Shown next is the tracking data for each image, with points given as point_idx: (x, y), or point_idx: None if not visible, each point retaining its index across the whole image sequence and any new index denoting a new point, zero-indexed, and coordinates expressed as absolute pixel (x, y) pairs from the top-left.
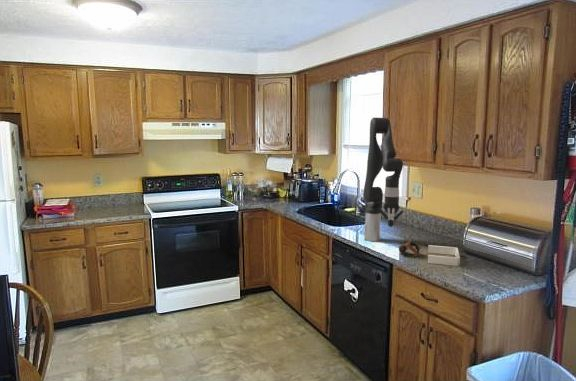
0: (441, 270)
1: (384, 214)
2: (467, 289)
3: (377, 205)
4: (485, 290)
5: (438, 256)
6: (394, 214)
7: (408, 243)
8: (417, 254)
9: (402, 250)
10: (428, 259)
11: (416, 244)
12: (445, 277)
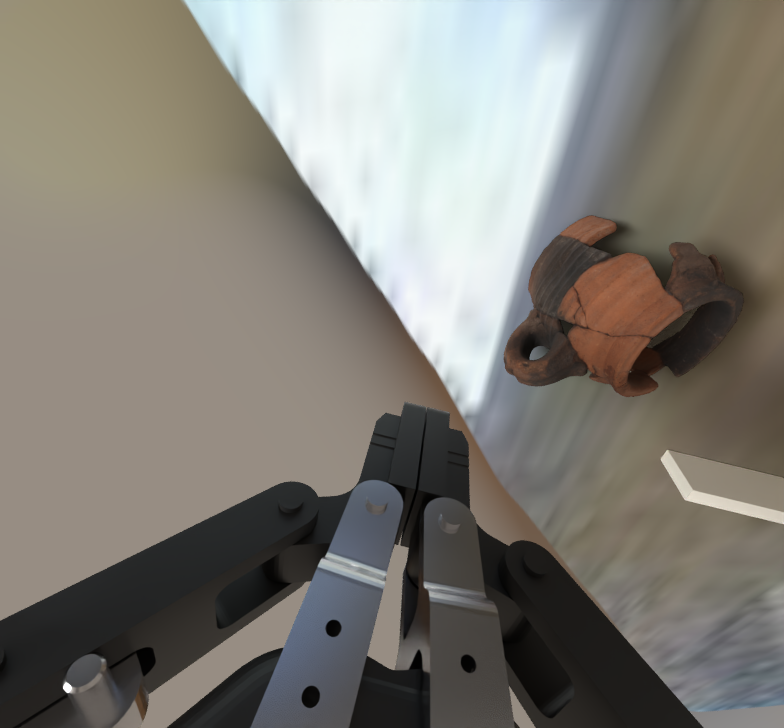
0: (673, 551)
1: (213, 637)
2: None
3: None
4: (724, 693)
5: (756, 516)
6: (496, 617)
7: (615, 371)
8: (659, 352)
9: (539, 338)
10: (674, 478)
11: (732, 302)
12: (637, 610)
